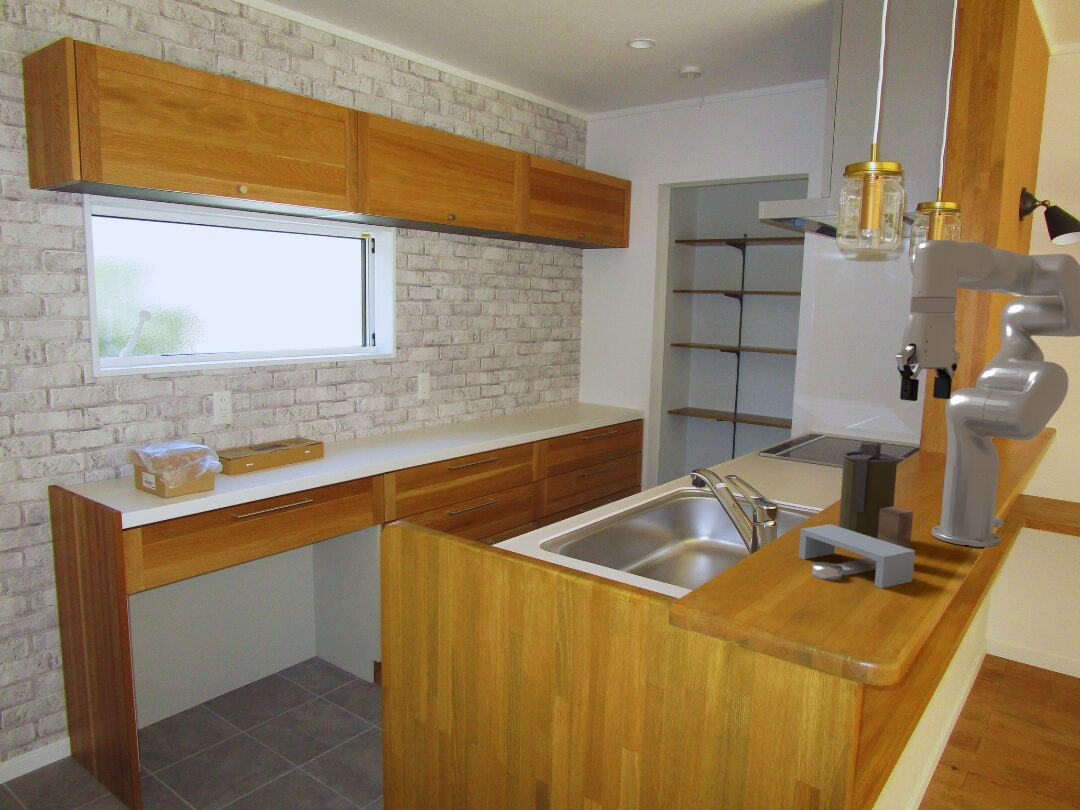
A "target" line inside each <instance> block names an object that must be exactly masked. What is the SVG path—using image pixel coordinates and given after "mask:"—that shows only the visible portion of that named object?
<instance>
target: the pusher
mask: <svg viewBox="0 0 1080 810" xmlns="http://www.w3.org/2000/svg"><path fill="white" fill-rule="evenodd" d="M913 519H914V511H913V510H909V509H906V508H902V507H898V506H895V505H894V506H893V507H886V508H880V514H879V527H878V539H879V540H882V541H886V542H889V543H892V544H895V545H898V546H902V547H905V548H908V549H911V542H912V529H913ZM876 561H877V560H875V559H872V558H869V557H866V558H862V559H857V560H851V561H847V562H842V563H836V564H837V565H839V566H841V567H843V574H842V576H845V577H847V576H851V575H855V574H861V573H865V572H870V571H874V570H875V571H876Z"/></svg>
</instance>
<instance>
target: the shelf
mask: <svg viewBox="0 0 1080 810" xmlns="http://www.w3.org/2000/svg"><path fill="white" fill-rule="evenodd" d="M835 547H837V548H840V549H844V550H846V551H848V552H852V553H855V554H857V555H861V556H864V557H866V558H872V559H875V560H877V561H876V570H875V573H874V574H875V577H874V587H877V588H879V589H886V588H890V587H894V586H898V585H902V584H907V583H912V582H913V581H914V580H913V579H914V577H913V576H914V566H915V554H916V550H914V549H912V548H910V549H908V548H905V547H902V546H898V545H895V544H892V543H889V542H886V541H882V540H879V539H876V538H873V537H870V536H867V535H863V534H860V533H857V532H854V531H851V530H847V529H844V528H841V527H839V525H835V524H831V523H830V524H829V523H828V524H824V525H816V526H810V527H803V528H800V533H799V547H798V548H799V549H798V558H800V559H803V560H808V559H813V558H818V557H819V558H821V557H823V556H829V555H834V554H835Z"/></svg>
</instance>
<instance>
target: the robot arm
mask: <svg viewBox="0 0 1080 810" xmlns="http://www.w3.org/2000/svg"><path fill="white" fill-rule="evenodd" d="M909 269H910V273H911V275H912V286H911V295H910V296H911V297H910V298H911V299H910V306H909V307H910V310H909V315H907V318H906V321H905V324H904V329H903V334H902V340H901V348H900V352H898V353H897V354H896V355H895V360H896V364H897V370H898V372H899V378H900V380H901V381H900V397H899V399H900V400H903V401H910V402H917V400H918V397H919V387H920V386H919V383H920V379H917V378H918V377H919V375H920V373H921V371H922V369H923V370H934V372H935V373H936V374H935V375H936V376H934V379H933V380H934V381H933V393H932V397H933V398H935V399H941V400H946V403H945V409H944V410H945V411H944V414H945V415H944V416H945V423H946V432H947V441H946V442H947V446H946V457H945V458H946V459H945V469H944V470H945V471H944V482H943V490H942V491H943V493H942V506H941V516H940V525H935V526H933V527H931V535H932V536H933V537H934V538H936V539H938V540H941V541H943V542H948V543H950V544H951V543H952V544H956V545H960V546H965V545H969V546H968V547H974V548H976V547H977V548H992V547H997V546H999V545H1001V543H1002V539H1001V537H1000V535H998V534H996V533H994V529H995V528H998V527H1002V526H1003V524H1004V520H1003V519H1002V517H995V513H996V501H997V494H998V493H997V492H998V491H997V490H998V482H999V470H1000V453H999V450H998V449H997V447H996V445H995V443H994V441H993V439H992V438H999V439H1006V440H1007V439H1008V440H1012V441H1015V440H1016V441H1029V440H1032V439H1035V438H1036V437H1038V435H1040V433H1041V432H1042V431H1043V430H1044V429H1045V427H1046V426H1047V425H1048V423H1049V422H1050V421H1051V419H1052V418H1053V417H1054V415H1055V414H1056V413H1057V412H1058V410H1059V409H1060V407H1061V406H1062V404H1063V403H1064V402H1065V399H1066V396H1067V393H1068V391H1069V390H1068V389H1069V375H1068V373H1067V371H1066V369H1065V368H1064V367H1063V366H1062V365H1060V364H1058V363H1056V362H1053V361H1045V355H1044V353H1043V351H1042V349H1041V348H1040V346H1039V345H1038V343H1036V341H1035V340H1034V339H1032V337H1035V336H1036V337H1037V336H1038V337H1065V338H1066V337H1067V338H1073V337H1074V338H1075V337H1080V264H1079V262H1078V261H1077V259H1076V258H1075V257H1074V256H1072V255H1071V254H1068V253H1067V254H1066V253H1055V254H1054V253H1051V254H1035V255H1034V254H1033V255H1032V254H1030V255H1029V254H1022V253H1020V252H1014V251H1011V250H1008V249H1004V248H991V247H990V246H989V245H988V244H986V243H984V242H980V241H960V242H959V241H955V240H952V239H931V240H930V239H928V240H923V241H920V242H918V244H916V246H915V250H914V252H913V254H912V255H911V258H910V261H909ZM958 289H964V290H969V291H970V290H971V291H980V292H981V291H982V292H992V293H998V294H1003V295H1007V296H1008V295H1009V296H1013V297H1017V298H1014V299H1012V300H1010V301H1009V302H1007V303H1006V304H1005V305H1004V306H1003V308H1002V311H1001V314H1000V320H999V321H1000V322H999V325H1000V327H999V331H1000V349H999V350H998V351H997V353H996V354H995V355H994V356H993V358H991V360H990V361H989V362H988V363H987V365H986V366H985V367H984V368H983V369H982V370H981V372H980V373H979V375H978V376H977V380H976V383H975V387H970V386H969V387H962V388H959V389H955V391H952V383H953V378H954V377H955V372H956V370H957V368H958V363H959V361H960V359H961V354H960V353H958V352H957V350H956V319H955V318H956V310H957V298H958ZM991 437H992V438H991Z"/></svg>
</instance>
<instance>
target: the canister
mask: <svg viewBox="0 0 1080 810" xmlns="http://www.w3.org/2000/svg"><path fill="white" fill-rule="evenodd" d="M881 449H882V444H881V443H880V442H877V441H866V442H865V441H864V442H861V445H860V447H859V448H858V449H857V451H847V452H844V453H843V454H842V456H843V463H842V477H841V478H842V480H841V491H840V503H839V505H840V506H839V519H838V527H841V528H844V529H847V530H851V531H854V532H857V533H860V534H863V535H867V536H870V537H873V538H876V539H878V527H879V514H880V508H886V507H893V506H895V505H894V504H895V493H896V492H895V491H896V480H897V479H896V478H897V469H898V468H897V466H898V462H899V458H898V457H897V456H895V455H892V454H887V453H881Z"/></svg>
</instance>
